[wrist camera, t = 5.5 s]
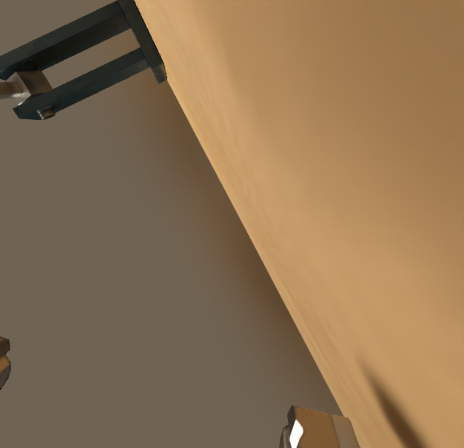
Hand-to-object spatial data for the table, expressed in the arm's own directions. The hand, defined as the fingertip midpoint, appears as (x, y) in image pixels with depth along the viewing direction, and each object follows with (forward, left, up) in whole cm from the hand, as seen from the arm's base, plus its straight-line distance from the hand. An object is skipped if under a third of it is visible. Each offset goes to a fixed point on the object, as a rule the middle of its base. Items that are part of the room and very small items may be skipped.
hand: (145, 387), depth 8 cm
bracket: (-3, -32, -5) cm, 32 cm away
